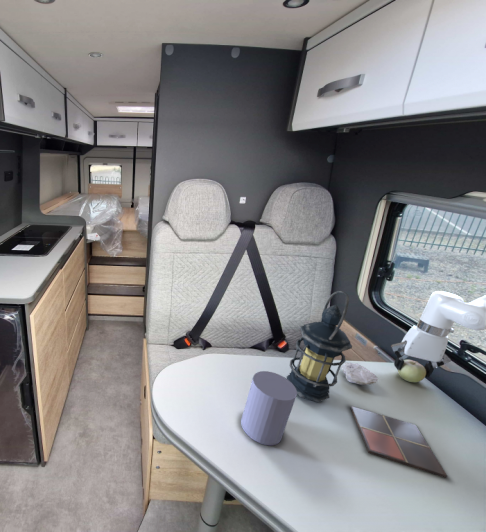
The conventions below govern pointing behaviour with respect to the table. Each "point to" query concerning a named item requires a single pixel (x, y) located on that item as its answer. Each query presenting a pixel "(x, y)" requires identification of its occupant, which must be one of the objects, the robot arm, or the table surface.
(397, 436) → the board
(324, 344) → the lantern
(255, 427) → the container
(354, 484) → the table surface
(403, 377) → the fruit
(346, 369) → the fossil
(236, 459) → the table surface
